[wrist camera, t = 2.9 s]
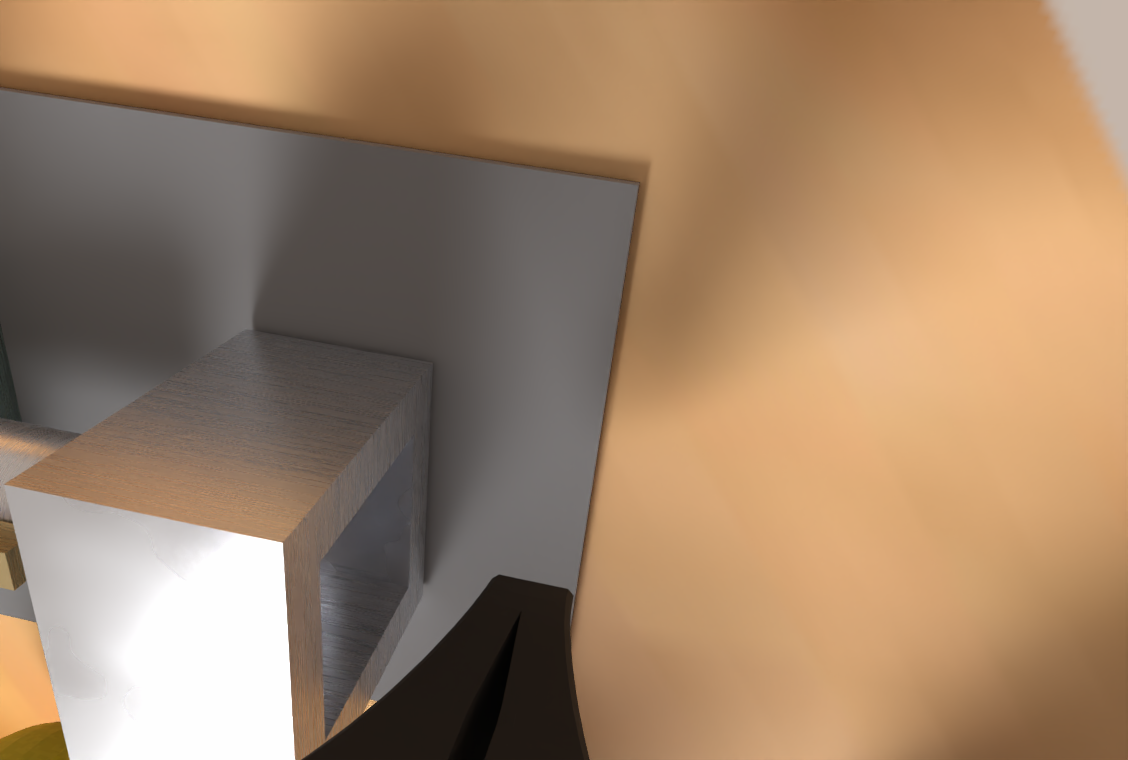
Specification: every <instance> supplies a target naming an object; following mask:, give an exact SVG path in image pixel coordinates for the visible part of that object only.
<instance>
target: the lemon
mask: <svg viewBox="0 0 1128 760" xmlns="http://www.w3.org/2000/svg"><path fill="white" fill-rule="evenodd" d="M0 760H70V759H69V754H68V750H67V746H66V742H65V738H64V734H63V729H62V725H61V722H54V723H44V724H40V725H36V726H31V727H28V728H26V729H23V730H20V731H18V732H15V733H13V734H11V735H8V736H6V737H4V738H1V739H0Z"/></svg>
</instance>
